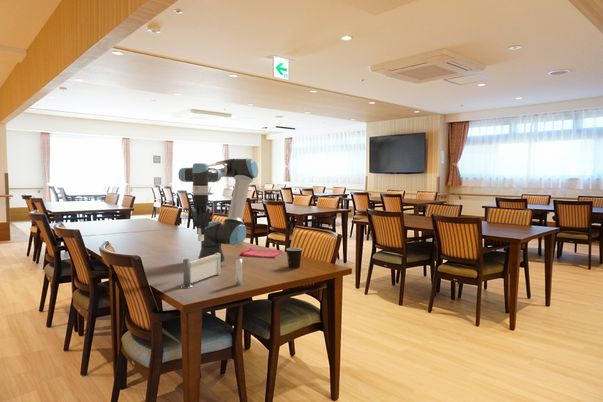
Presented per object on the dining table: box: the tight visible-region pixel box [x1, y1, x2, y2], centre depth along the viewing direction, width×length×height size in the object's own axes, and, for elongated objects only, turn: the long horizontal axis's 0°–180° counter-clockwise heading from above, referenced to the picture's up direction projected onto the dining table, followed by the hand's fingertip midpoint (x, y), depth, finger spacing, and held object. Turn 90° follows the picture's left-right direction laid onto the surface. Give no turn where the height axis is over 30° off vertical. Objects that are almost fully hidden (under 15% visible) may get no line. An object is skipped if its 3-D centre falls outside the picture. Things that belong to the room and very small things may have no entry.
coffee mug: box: [286, 247, 303, 269], centre depth 221 cm, size 12×9×10 cm
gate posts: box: [179, 258, 243, 289], centre depth 183 cm, size 28×7×12 cm, turn 105°
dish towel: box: [239, 248, 283, 259], centre depth 253 cm, size 17×24×3 cm
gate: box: [182, 253, 222, 286], centre depth 191 cm, size 25×3×12 cm, turn 155°
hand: (201, 240), depth 200 cm, fingers closed
